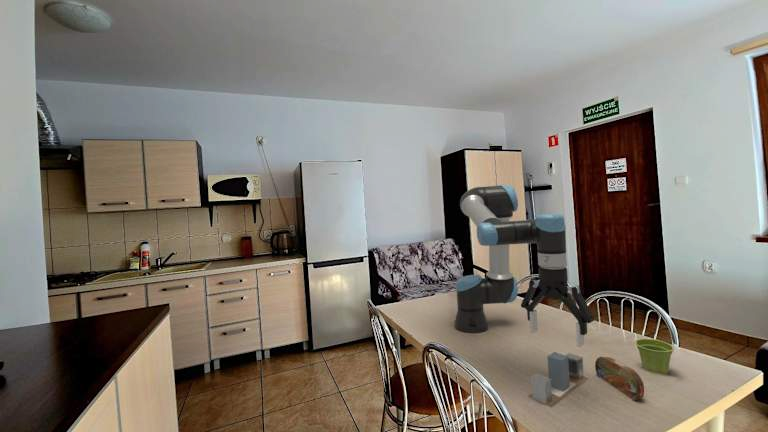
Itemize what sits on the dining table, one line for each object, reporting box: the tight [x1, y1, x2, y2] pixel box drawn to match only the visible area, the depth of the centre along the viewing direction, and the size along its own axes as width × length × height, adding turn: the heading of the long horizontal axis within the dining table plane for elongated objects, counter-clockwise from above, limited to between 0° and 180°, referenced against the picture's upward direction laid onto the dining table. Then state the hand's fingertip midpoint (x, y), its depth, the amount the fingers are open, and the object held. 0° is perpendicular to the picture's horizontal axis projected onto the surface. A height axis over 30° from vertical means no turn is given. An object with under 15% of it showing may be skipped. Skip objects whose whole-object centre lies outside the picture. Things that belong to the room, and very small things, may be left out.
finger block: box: [547, 351, 570, 391], centre depth 95 cm, size 4×5×9 cm
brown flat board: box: [527, 376, 590, 408], centre depth 95 cm, size 7×22×1 cm, turn 125°
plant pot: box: [634, 338, 675, 376], centre depth 102 cm, size 9×9×9 cm
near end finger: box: [530, 373, 552, 406], centre depth 90 cm, size 4×4×6 cm
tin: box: [594, 356, 645, 401], centre depth 93 cm, size 15×3×8 cm, turn 5°
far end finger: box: [565, 352, 585, 380], centre depth 100 cm, size 4×4×6 cm
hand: (556, 338), depth 95 cm, fingers open, 13 cm apart
